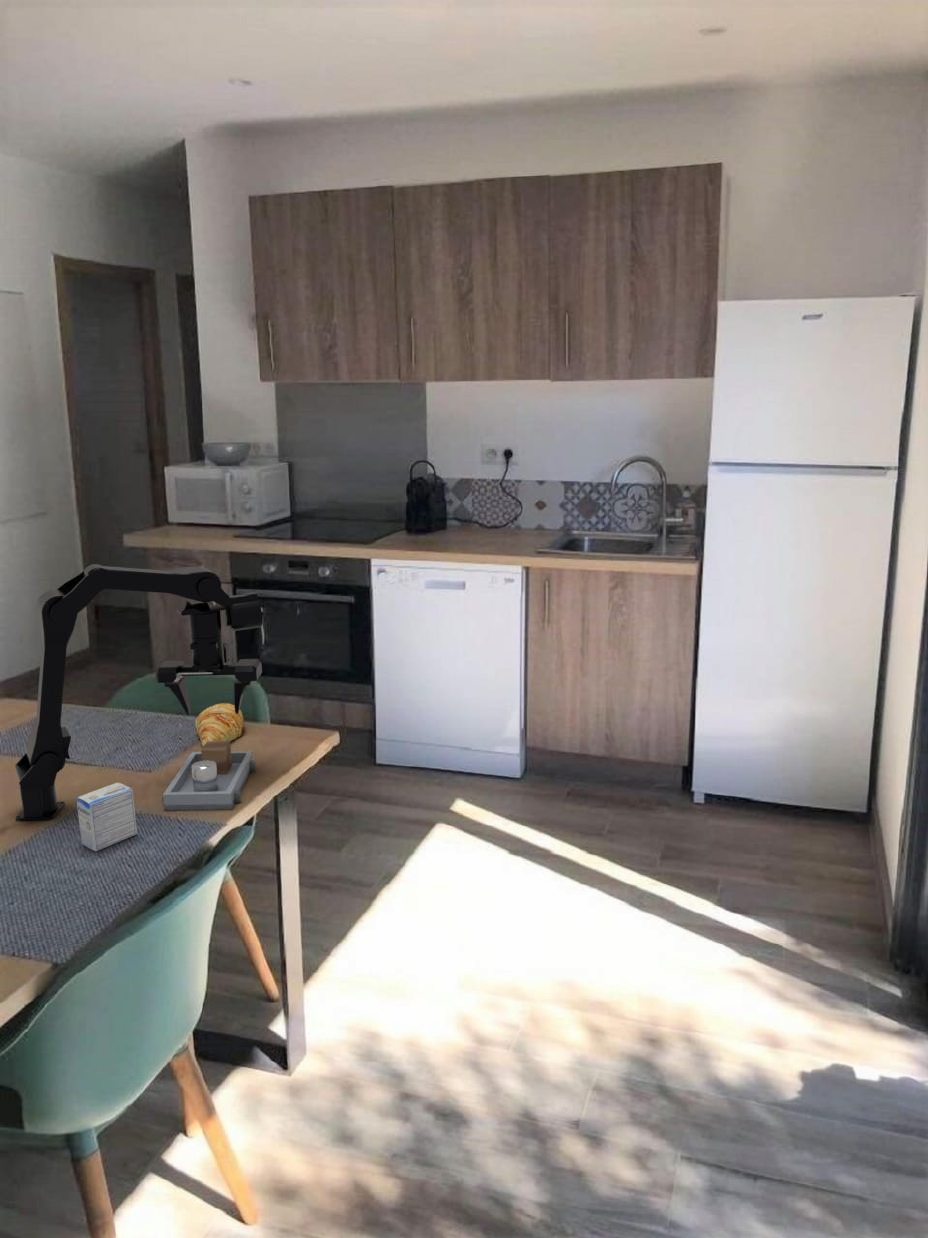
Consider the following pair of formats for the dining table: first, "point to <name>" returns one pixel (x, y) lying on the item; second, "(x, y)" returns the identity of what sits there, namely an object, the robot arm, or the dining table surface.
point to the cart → (227, 795)
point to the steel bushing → (204, 776)
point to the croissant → (219, 723)
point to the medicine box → (106, 816)
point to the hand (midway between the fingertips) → (213, 713)
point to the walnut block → (218, 755)
